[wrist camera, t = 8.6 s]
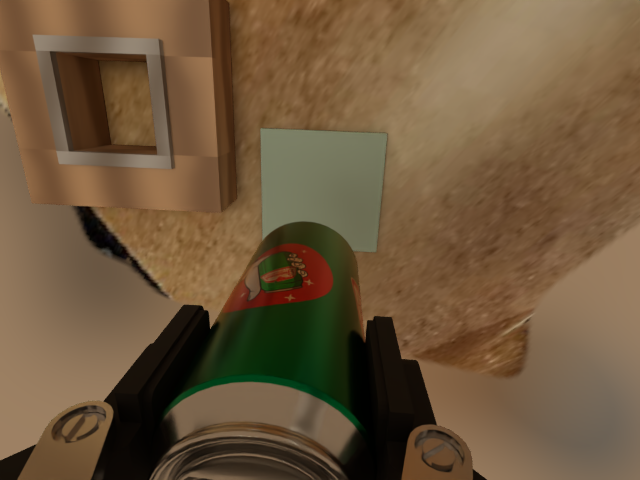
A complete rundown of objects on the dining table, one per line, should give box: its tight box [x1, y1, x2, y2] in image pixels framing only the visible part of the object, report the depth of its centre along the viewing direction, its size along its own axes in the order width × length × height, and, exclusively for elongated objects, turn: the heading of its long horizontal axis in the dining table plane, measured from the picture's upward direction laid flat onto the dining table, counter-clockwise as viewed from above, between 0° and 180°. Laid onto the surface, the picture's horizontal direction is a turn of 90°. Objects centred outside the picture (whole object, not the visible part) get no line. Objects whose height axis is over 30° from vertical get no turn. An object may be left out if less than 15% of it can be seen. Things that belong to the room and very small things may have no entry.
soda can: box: [147, 221, 378, 480], centre depth 13 cm, size 5×5×12 cm
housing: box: [0, 0, 237, 213], centre depth 30 cm, size 16×16×6 cm
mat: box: [261, 128, 387, 252], centre depth 34 cm, size 11×11×1 cm
